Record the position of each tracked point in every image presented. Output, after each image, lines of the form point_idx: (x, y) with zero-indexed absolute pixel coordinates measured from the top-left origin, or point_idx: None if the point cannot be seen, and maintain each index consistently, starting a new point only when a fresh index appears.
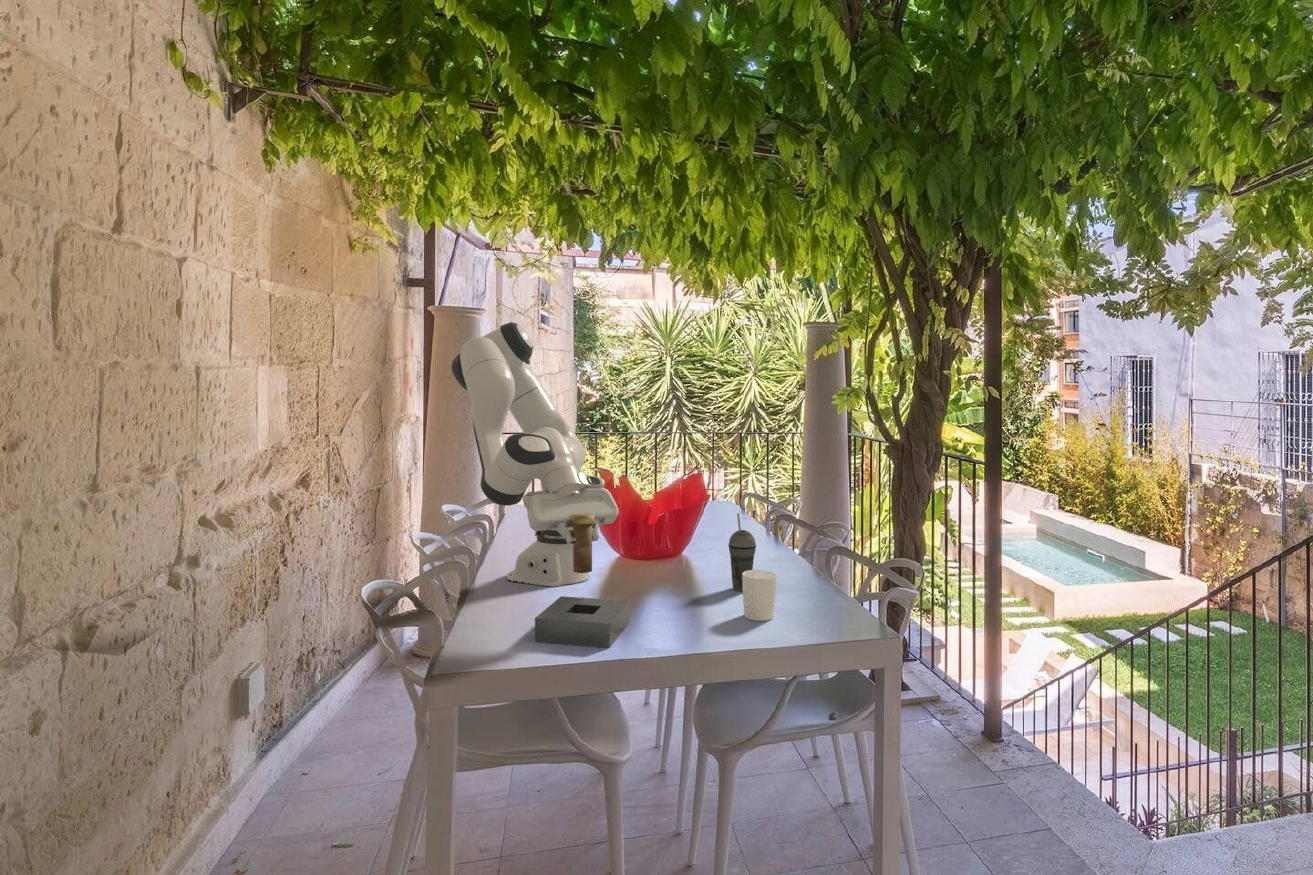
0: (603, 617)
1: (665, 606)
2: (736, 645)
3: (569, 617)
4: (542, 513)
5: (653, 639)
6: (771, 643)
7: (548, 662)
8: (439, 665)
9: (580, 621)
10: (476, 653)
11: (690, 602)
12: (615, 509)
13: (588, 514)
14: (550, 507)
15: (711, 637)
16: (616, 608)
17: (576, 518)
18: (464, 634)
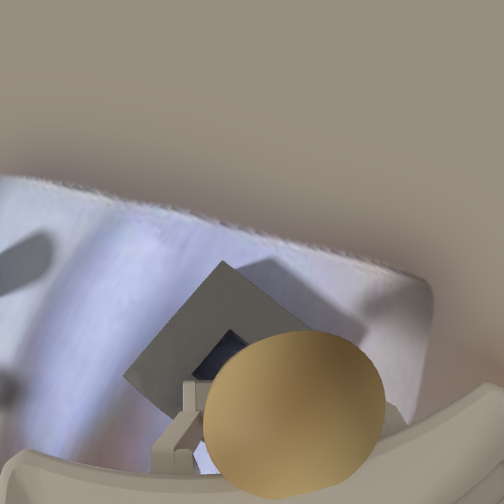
0: (217, 300)
1: (50, 409)
2: (67, 201)
3: (281, 330)
4: (495, 418)
5: (139, 275)
6: (38, 192)
7: (325, 260)
8: (433, 308)
9: (269, 297)
10: (401, 333)
11: (15, 398)
12: (15, 470)
13: (247, 439)
14: (479, 468)
15: (68, 241)
16: (168, 342)
17: (364, 361)
18: (401, 414)
